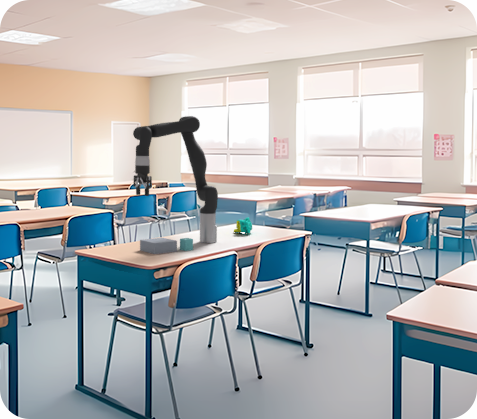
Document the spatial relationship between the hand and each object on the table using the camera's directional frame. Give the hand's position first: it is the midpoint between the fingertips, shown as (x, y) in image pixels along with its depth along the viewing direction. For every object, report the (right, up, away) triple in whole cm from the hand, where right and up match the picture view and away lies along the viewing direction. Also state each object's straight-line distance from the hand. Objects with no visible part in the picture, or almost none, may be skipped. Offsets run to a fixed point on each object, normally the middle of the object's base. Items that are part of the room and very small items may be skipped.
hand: (142, 195), depth 285 cm
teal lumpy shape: (+55, -24, +71) cm, 93 cm away
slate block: (+8, -30, 0) cm, 31 cm away
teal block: (+23, -29, +5) cm, 38 cm away
